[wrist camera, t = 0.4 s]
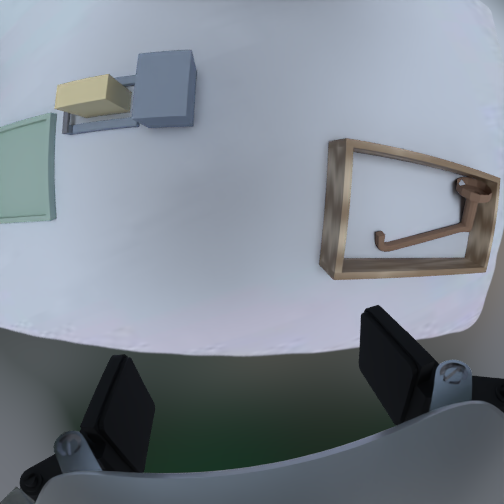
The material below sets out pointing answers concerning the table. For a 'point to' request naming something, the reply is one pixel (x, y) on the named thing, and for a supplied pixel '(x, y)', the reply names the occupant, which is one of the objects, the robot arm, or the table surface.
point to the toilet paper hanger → (474, 195)
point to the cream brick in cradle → (93, 97)
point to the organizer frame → (397, 267)
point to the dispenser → (154, 94)
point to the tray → (28, 170)
